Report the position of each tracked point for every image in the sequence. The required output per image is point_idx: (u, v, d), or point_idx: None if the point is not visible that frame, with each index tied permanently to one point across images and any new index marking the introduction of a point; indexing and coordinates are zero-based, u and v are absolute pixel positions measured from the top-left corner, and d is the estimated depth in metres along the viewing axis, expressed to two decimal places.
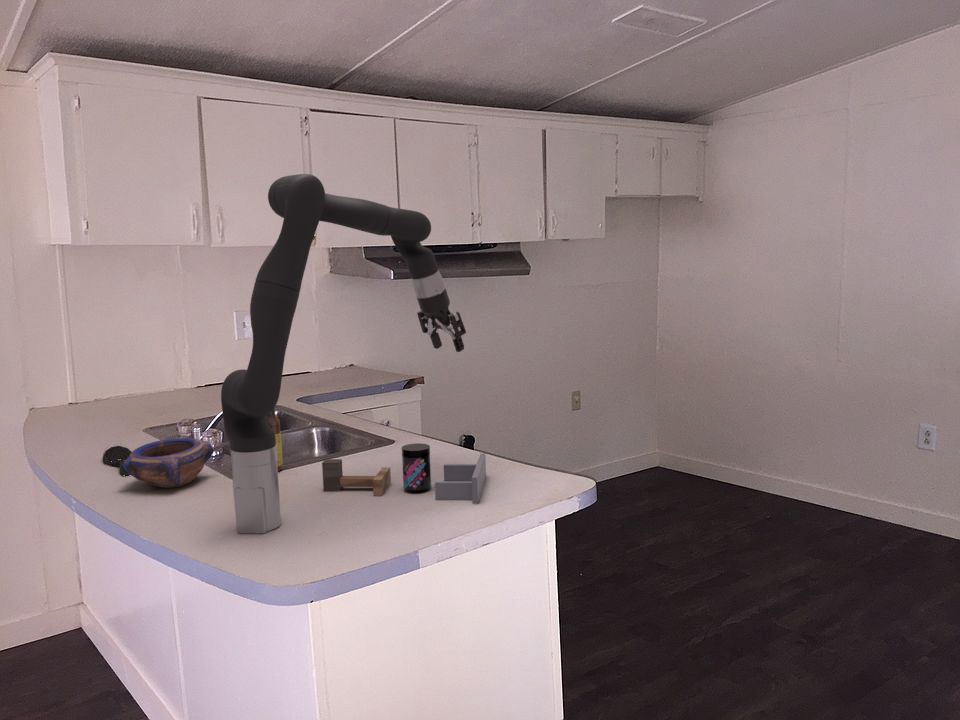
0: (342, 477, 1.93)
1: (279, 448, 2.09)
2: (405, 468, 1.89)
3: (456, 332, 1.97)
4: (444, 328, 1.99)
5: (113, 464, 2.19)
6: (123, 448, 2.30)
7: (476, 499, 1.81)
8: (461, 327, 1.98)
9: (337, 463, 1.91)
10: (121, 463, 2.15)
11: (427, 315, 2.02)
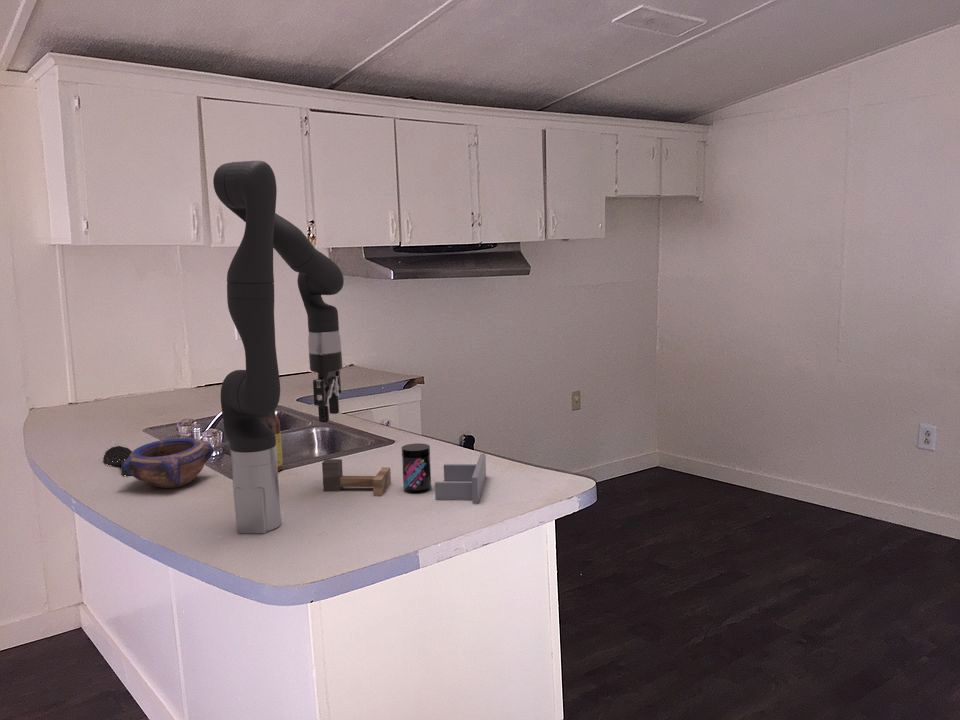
0: (342, 477, 1.93)
1: (279, 448, 2.09)
2: (405, 468, 1.89)
3: None
4: None
5: (114, 464, 2.19)
6: (124, 448, 2.30)
7: (476, 499, 1.81)
8: None
9: (337, 463, 1.91)
10: None
11: None
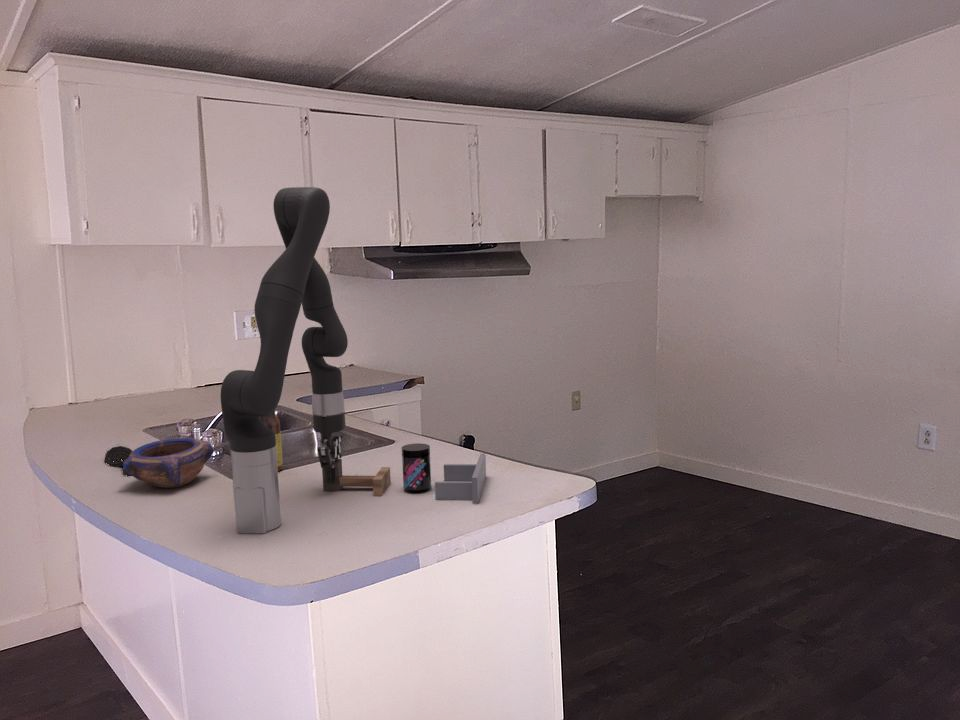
0: (342, 477, 1.93)
1: (279, 448, 2.09)
2: (405, 468, 1.89)
3: None
4: None
5: (116, 464, 2.19)
6: (125, 448, 2.30)
7: (476, 499, 1.81)
8: None
9: (337, 463, 1.91)
10: None
11: None
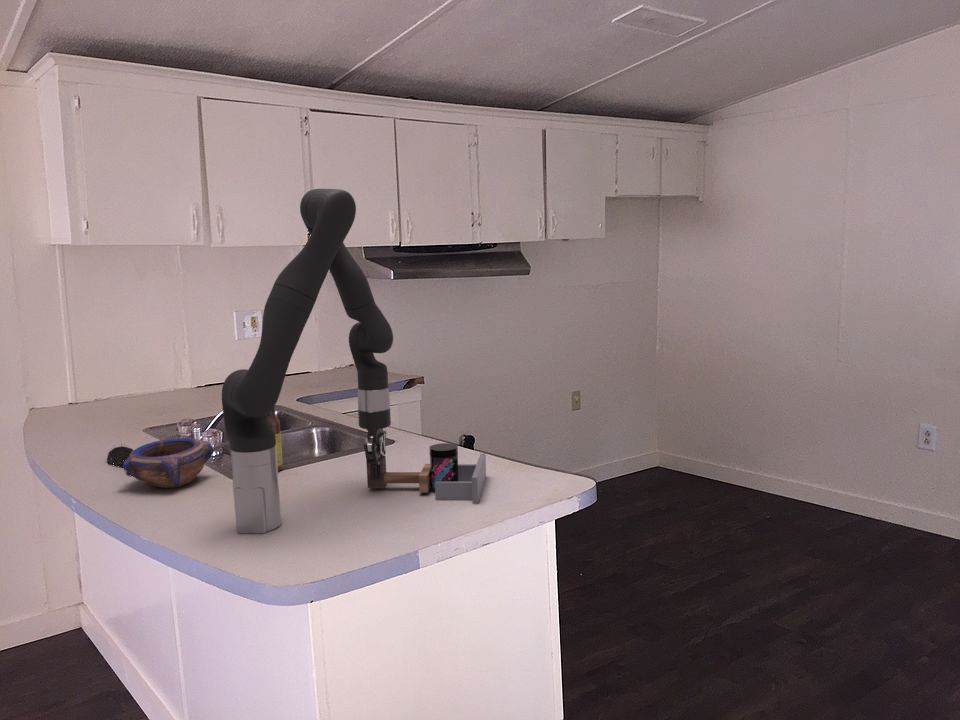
0: (386, 474, 1.92)
1: (279, 448, 2.09)
2: (433, 468, 1.88)
3: None
4: None
5: (119, 465, 2.19)
6: (127, 448, 2.30)
7: (476, 499, 1.81)
8: None
9: (381, 460, 1.90)
10: None
11: None
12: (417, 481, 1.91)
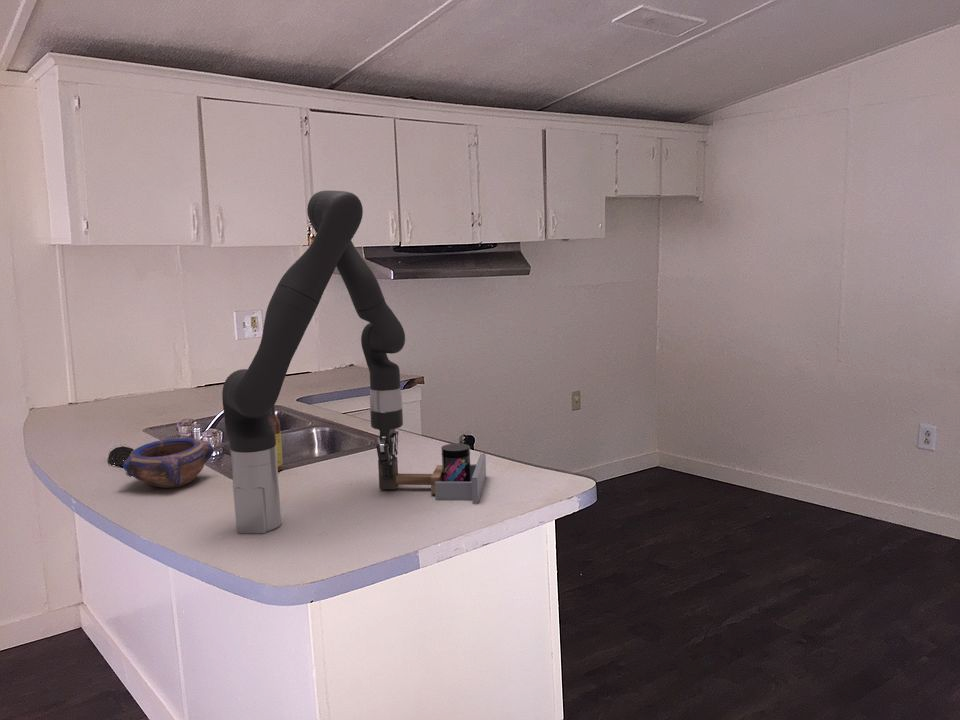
0: (398, 475, 1.92)
1: (279, 448, 2.09)
2: (445, 469, 1.88)
3: None
4: None
5: (120, 465, 2.19)
6: (128, 448, 2.30)
7: (476, 499, 1.81)
8: None
9: (393, 461, 1.90)
10: None
11: None
12: (429, 483, 1.90)
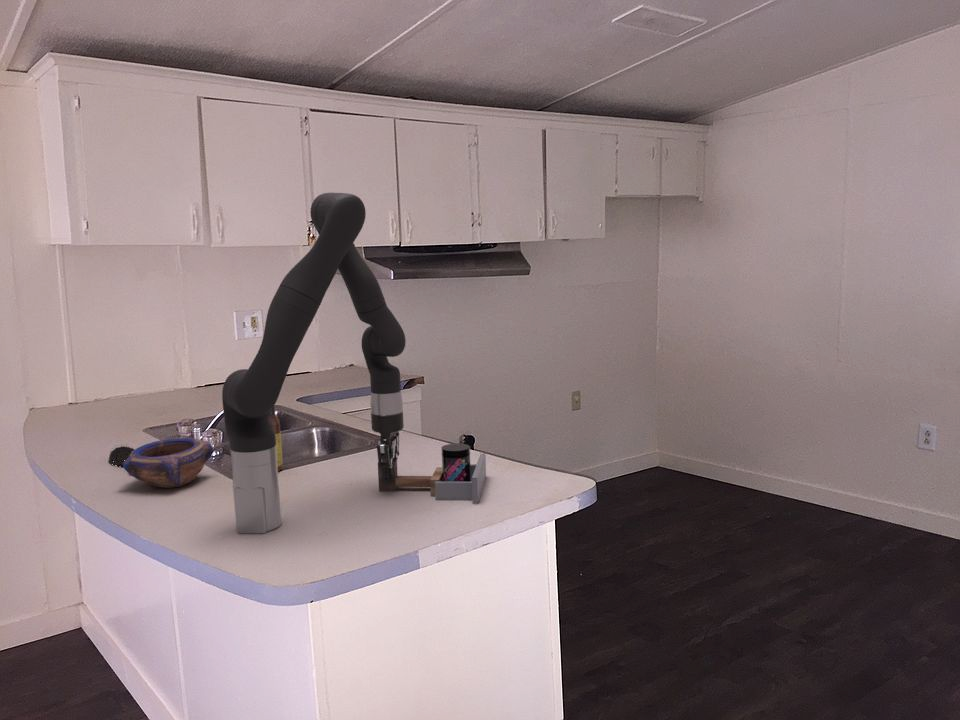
0: (397, 477, 1.92)
1: (279, 448, 2.09)
2: (445, 469, 1.88)
3: None
4: None
5: (121, 465, 2.19)
6: (129, 448, 2.29)
7: (476, 499, 1.81)
8: None
9: (393, 463, 1.90)
10: None
11: None
12: (428, 485, 1.90)
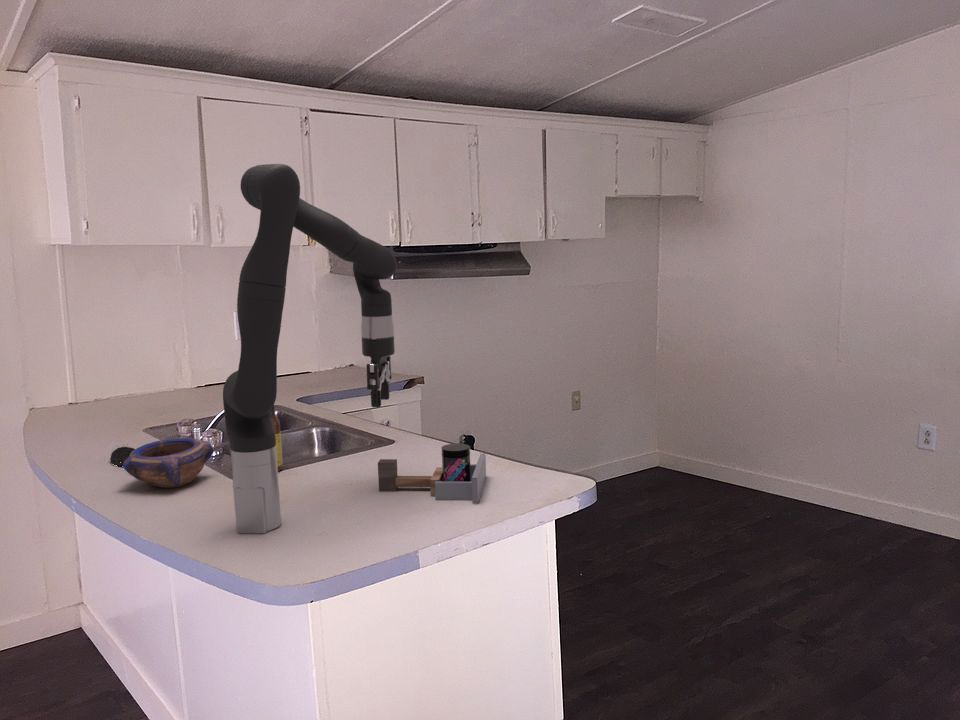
0: (397, 477, 1.92)
1: (279, 448, 2.09)
2: (445, 469, 1.88)
3: None
4: None
5: None
6: (130, 449, 2.29)
7: (476, 499, 1.81)
8: None
9: (393, 463, 1.90)
10: None
11: None
12: (428, 485, 1.90)
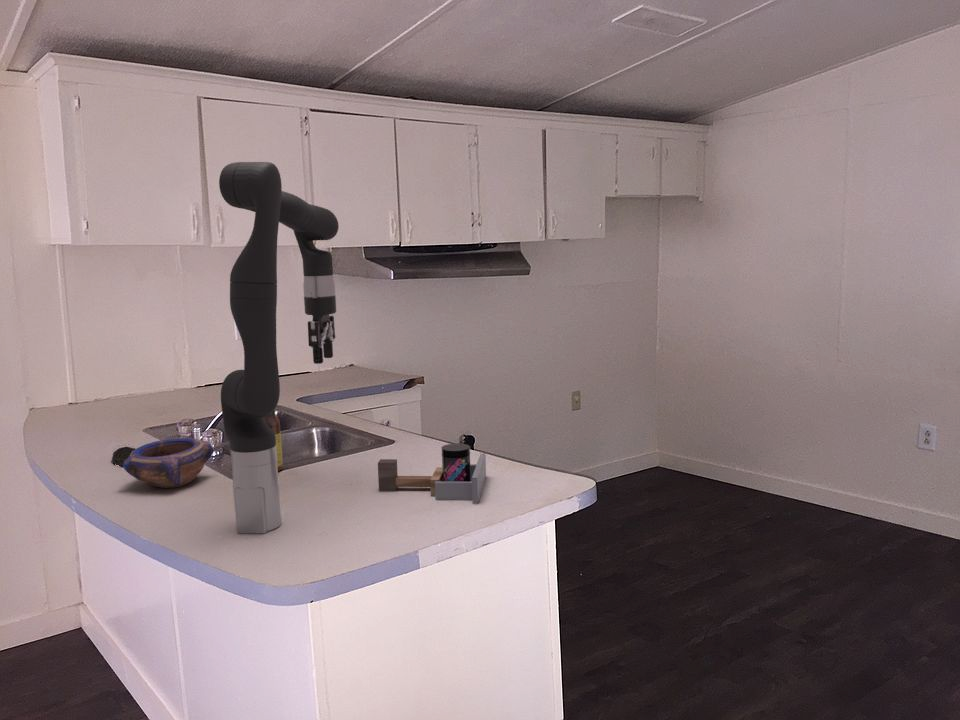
0: (397, 477, 1.92)
1: (279, 448, 2.09)
2: (445, 469, 1.88)
3: None
4: None
5: None
6: (131, 449, 2.29)
7: (476, 499, 1.81)
8: None
9: (393, 463, 1.90)
10: None
11: None
12: (428, 485, 1.90)
